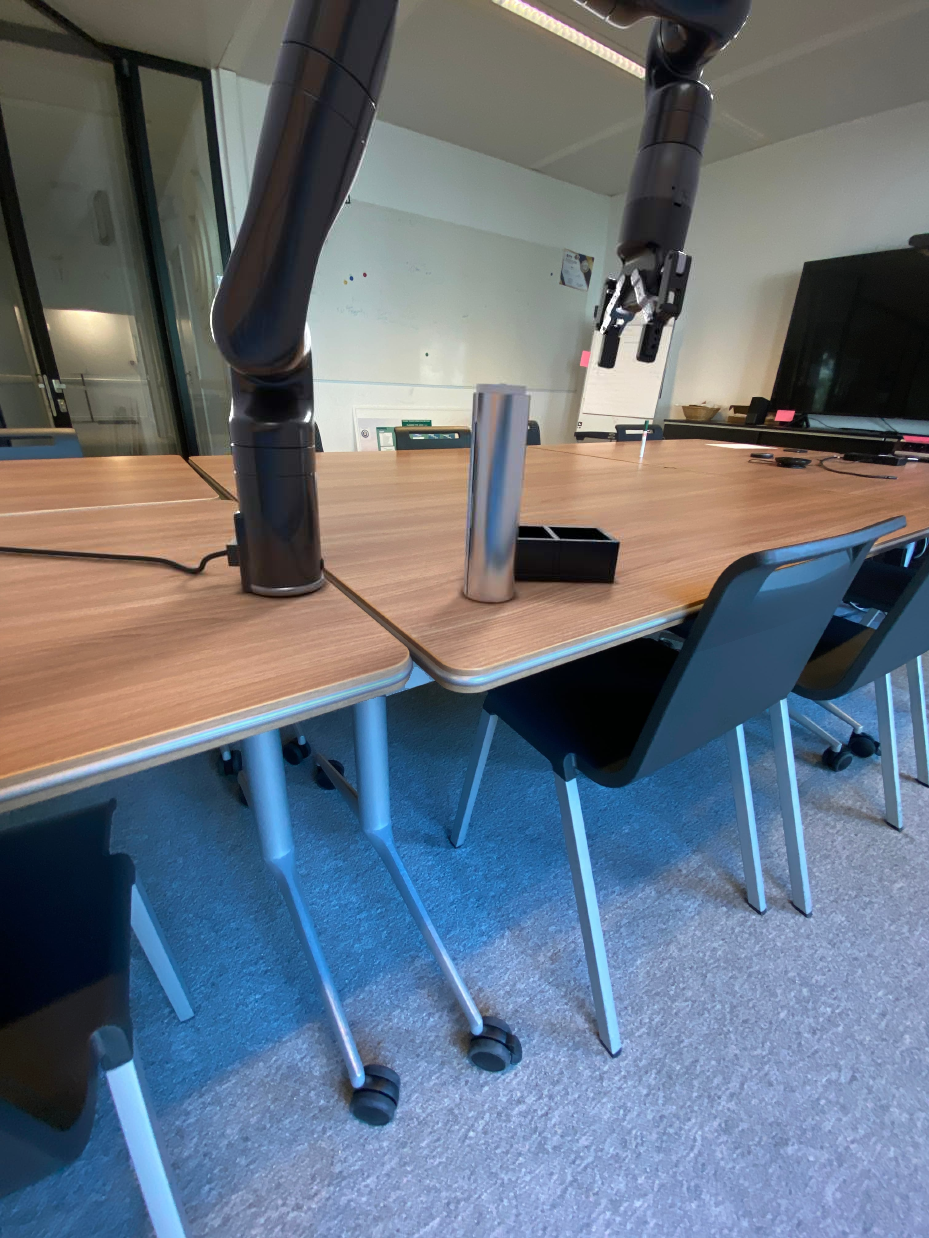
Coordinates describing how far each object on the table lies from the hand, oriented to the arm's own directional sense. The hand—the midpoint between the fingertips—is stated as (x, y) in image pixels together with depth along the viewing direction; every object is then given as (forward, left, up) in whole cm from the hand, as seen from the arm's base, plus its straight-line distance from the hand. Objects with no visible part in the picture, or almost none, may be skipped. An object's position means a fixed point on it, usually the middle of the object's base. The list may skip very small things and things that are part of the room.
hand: (624, 365), depth 65 cm
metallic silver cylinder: (-16, -6, -28) cm, 33 cm away
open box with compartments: (-6, +4, -28) cm, 29 cm away
